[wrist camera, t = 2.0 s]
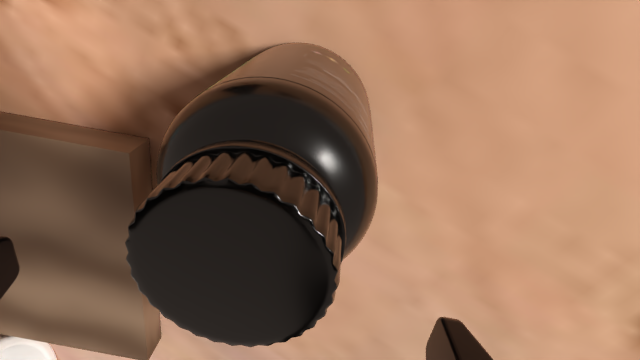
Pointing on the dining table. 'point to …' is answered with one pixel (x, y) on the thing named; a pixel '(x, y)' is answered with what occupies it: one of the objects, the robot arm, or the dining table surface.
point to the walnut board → (74, 236)
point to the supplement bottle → (258, 199)
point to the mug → (24, 349)
